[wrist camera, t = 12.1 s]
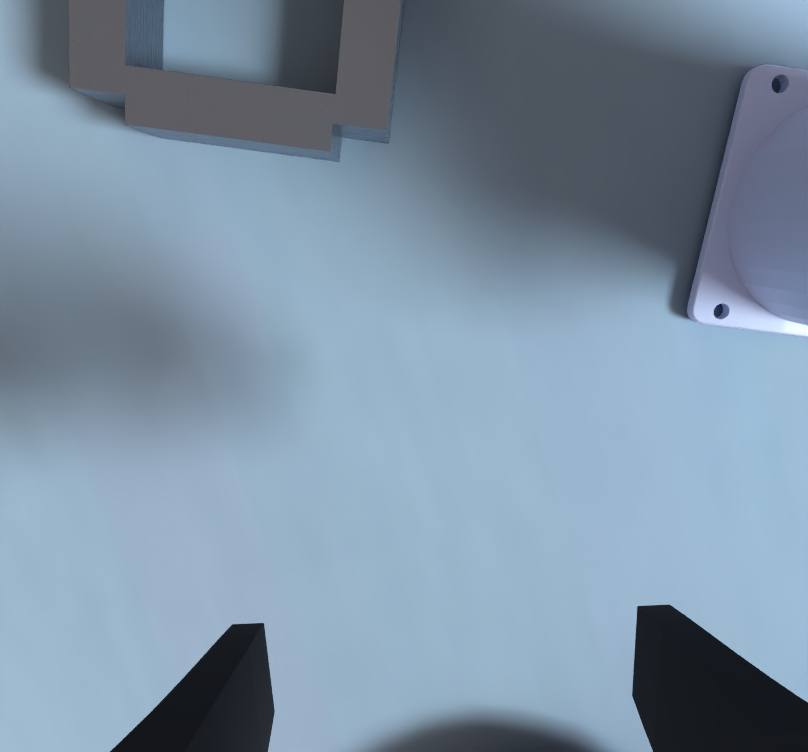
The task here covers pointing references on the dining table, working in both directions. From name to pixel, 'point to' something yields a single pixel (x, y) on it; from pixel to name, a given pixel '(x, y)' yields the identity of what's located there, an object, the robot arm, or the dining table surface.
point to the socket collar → (236, 83)
